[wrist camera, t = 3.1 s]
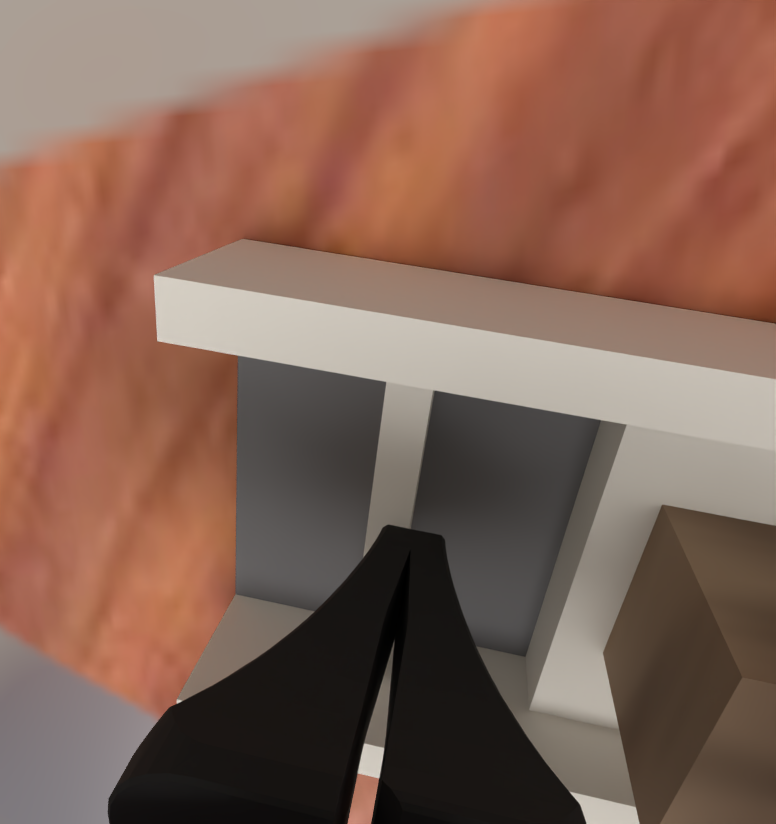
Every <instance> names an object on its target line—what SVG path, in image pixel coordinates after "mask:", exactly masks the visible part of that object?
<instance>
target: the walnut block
mask: <svg viewBox="0 0 776 824" xmlns="http://www.w3.org/2000/svg"><path fill="white" fill-rule="evenodd" d="M603 656H604V661H605V666H606V670H607V675H608V680H609V684H610V689H611V694H612V698H613V703H614V708H615V712H616V717H617V722H618V726H619V731H620V736H621V740H622V745H623V750H624V754H625V759H626V763H627V768H628V773H629V777H630V782H631V787H632V791H633V796H634V801H635V805H636V810H637V815H638V819H639V824H776V526H774V525H769V524H764V523H758V522H753V521H748V520H742V519H737V518H732V517H727V516H721V515H716V514H711V513H705V512H700V511H695V510H690V509H684V508H679V507H674V506H668V505H663V504H662V506H661V509H660V511H659V514H658V516H657V519H656V521H655V524H654V526H653V529H652V531H651V534H650V536H649V539H648V541H647V544H646V546H645V549H644V551H643V554H642V556H641V559H640V561H639V564H638V566H637V569H636V571H635V574H634V576H633V579H632V581H631V584H630V586H629V589H628V591H627V594H626V596H625V599H624V601H623V604H622V606H621V609H620V611H619V614H618V616H617V619H616V621H615V624H614V626H613V629H612V631H611V634H610V636H609V639H608V641H607V644H606V646H605V649H604V651H603Z"/></svg>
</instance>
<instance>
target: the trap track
mask: <svg viewBox="0 0 776 824" xmlns="http://www.w3.org/2000/svg"><path fill="white" fill-rule="evenodd" d="M154 288H155V307H156V325H157V341H160V342H165V343H171V344H176V345H182V346H188V347H193V348H199V349H205V350H210V351H216V352H221V353H227V354H233V355H238V400H237V498H236V594H235V596H234V598H233V600H232V601H231V603H230V605H229V607H228V609H227V610H226V612H225V614H224V616H223V618H222V619H221V621H220V623H219V625H218V626H217V628H216V630H215V632H214V634H213V635H212V637H211V639H210V641H209V643H208V644H207V646H206V648H205V650H204V651H203V653H202V655H201V657H200V659H199V660H198V662H197V664H196V666H195V668H194V669H193V671H192V673H191V675H190V677H189V678H188V680H187V682H186V684H185V685H184V687H183V689H182V691H181V693H180V694H179V696H178V698H177V704H178V703H179V702H181V701H183V700H185V699H187V698H189V697H191V696H193V695H195V694H197V693H199V692H200V691H202V690H204V689H206V688H208V687H210V686H212V685H214V684H216V683H217V682H219V681H221V680H222V679H224V678H226V677H227V676H229V675H230V674H232V673H234V672H235V671H237V670H238V669H240V668H241V667H243V666H245V665H246V664H248V663H249V662H251V661H252V660H254V659H256V658H257V657H259V656H260V655H261V654H263V653H264V652H266V651H267V650H268V649H270V648H271V647H272V646H274V645H275V644H276V643H278V642H279V641H280V640H281V639H283V638H284V637H285V636H287V635H288V634H289V633H290V632H292V631H293V630H294V629H295V628H297V627H298V626H299V625H300V624H301V623H302V622H303V621H305V620H306V619H307V618H308V617H309V616H310V615H311V614H312V613H314V612H315V611H316V610H317V609H318V608H319V607H320V606H321V605H322V604H323V603H324V602H325V601H326V600H327V599H328V598H329V597H330V596H331V595H332V593H333V592H334V591H335V590H336V589H337V588H338V587H339V586H340V585H341V584H342V583H343V582H344V581H345V580H346V578H347V577H348V576H349V575H350V574H351V572H352V571H353V570H354V569H355V567H356V566H357V565H358V564H359V563H360V561H361V560H362V559H363V557H364V556H365V555H366V553H367V552H368V551H369V549H370V548H371V546H372V545H373V543H374V542H375V540H376V539H377V537H378V535H379V534H380V532H381V530H382V528H383V527H384V526H386V525H388V524H389V525H394V526H399V527H404V528H409V529H414V530H419V531H424V532H429V533H434V534H439V535H442V536H443V538H444V539H445V544H446V553H447V559H448V564H449V569H450V573H451V577H452V581H453V584H454V588H455V591H456V594H457V597H458V600H459V603H460V606H461V609H462V612H463V615H464V618H465V620H466V623H467V625H468V628H469V630H470V633H471V635H472V638H473V640H474V642H475V645H476V647H477V649H478V651H479V654H480V656H481V658H482V660H483V662H484V664H485V666H486V668H487V670H488V672H489V674H490V676H491V678H492V679H493V681H494V683H495V685H496V687H497V688H498V690H499V692H500V694H501V696H502V697H503V699H504V701H505V702H506V704H507V705H508V707H509V709H510V710H511V712H512V713H513V715H514V716H515V718H516V720H517V721H518V723H519V724H520V726H521V727H522V729H523V731H524V732H525V734H526V735H527V737H528V738H529V740H530V741H531V742H532V744H533V745H534V747H535V748H536V749H537V751H538V752H539V754H540V755H541V756H542V758H543V759H544V761H545V762H546V763H547V765H548V766H549V767H550V768H551V770H552V771H553V772H554V774H555V775H556V776H557V777H558V778H559V780H560V781H561V782H562V783H563V784H564V786H565V787H566V788H567V789H568V790H569V792H570V793H571V794H572V795H573V797H574V798H575V799H576V800H577V801H578V803H579V804H580V805H581V808H582V811H583V814H584V817H585V820H586V824H639V819H638V815H637V810H636V805H635V801H634V796H633V791H632V787H631V782H630V777H629V773H628V768H627V763H626V759H625V754H624V750H623V745H622V740H621V736H620V731H619V726H618V722H617V717H616V712H615V708H614V703H613V698H612V694H611V689H610V684H609V680H608V675H607V670H606V666H605V661H604V656H603V651H604V649H605V646H606V644H607V641H608V639H609V636H610V634H611V631H612V629H613V626H614V624H615V621H616V619H617V616H618V614H619V611H620V609H621V606H622V604H623V601H624V599H625V596H626V594H627V591H628V589H629V586H630V584H631V581H632V579H633V576H634V574H635V571H636V569H637V566H638V564H639V561H640V559H641V556H642V554H643V551H644V549H645V546H646V544H647V541H648V539H649V536H650V534H651V531H652V529H653V526H654V524H655V521H656V519H657V516H658V514H659V511H660V509H661V506H662V504H663V505H668V506H674V507H679V508H684V509H690V510H695V511H700V512H705V513H711V514H716V515H721V516H727V517H732V518H737V519H742V520H748V521H753V522H758V523H764V524H769V525H774V526H776V324H775V323H769V322H762V321H756V320H750V319H744V318H737V317H731V316H725V315H718V314H712V313H706V312H700V311H693V310H687V309H681V308H675V307H668V306H662V305H656V304H649V303H643V302H637V301H631V300H624V299H618V298H612V297H605V296H599V295H593V294H587V293H580V292H574V291H568V290H561V289H555V288H549V287H543V286H536V285H530V284H524V283H518V282H511V281H505V280H499V279H492V278H486V277H480V276H474V275H467V274H461V273H455V272H448V271H442V270H436V269H430V268H423V267H417V266H411V265H404V264H398V263H392V262H386V261H379V260H373V259H367V258H361V257H354V256H348V255H342V254H335V253H329V252H323V251H317V250H310V249H304V248H298V247H291V246H285V245H279V244H273V243H266V242H260V241H254V240H247V239H240V240H238V241H236V242H233V243H231V244H228V245H226V246H223V247H221V248H219V249H216V250H214V251H211V252H209V253H206V254H204V255H202V256H199V257H197V258H194V259H192V260H189V261H187V262H185V263H182V264H180V265H177V266H175V267H172V268H170V269H168V270H165V271H163V272H160V273H158V274H155V275H154ZM393 650H394V643H393V647H392V650H391V653H390V657H389V660H388V663H387V667H386V670H385V674H384V677H383V680H382V684H381V687H380V690H379V694H378V697H377V700H376V704H375V707H374V710H373V714H372V717H371V721H370V724H369V727H368V731H367V734H366V738H365V742H364V746H363V750H362V754H361V759H360V764H359V769H358V773H359V774H363V775H367V776H371V777H376V778H379V777H380V771H381V766H382V760H383V754H384V746H385V738H386V728H387V717H388V706H389V695H390V683H391V672H392V661H393Z"/></svg>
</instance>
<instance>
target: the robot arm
mask: <svg viewBox="0 0 776 824" xmlns="http://www.w3.org/2000/svg"><path fill="white" fill-rule="evenodd" d="M393 643H394V650H393V661H392V672H391V683H390V695H389V706H388V717H387V728H386V738H385V746H384V754H383V760H382V766H381V771H380V777H379V783H378V788H377V794H376V800H375V805H374V811H373V817H372V822H371V824H586V820H585V817H584V814H583V811H582V808H581V805H580V804H579V803H578V801H577V800H576V799H575V798H574V797H573V795H572V794H571V793H570V792H569V790H568V789H567V788H566V787H565V786H564V784H563V783H562V782H561V781H560V780H559V778H558V777H557V776H556V775H555V774H554V772H553V771H552V770H551V768H550V767H549V766H548V765H547V763H546V762H545V761H544V759H543V758H542V756H541V755H540V754H539V752H538V751H537V749H536V748H535V747H534V745H533V744H532V742H531V741H530V740H529V738H528V737H527V735H526V734H525V732H524V731H523V729H522V727H521V726H520V724H519V723H518V721H517V720H516V718H515V716H514V715H513V713H512V712H511V710H510V709H509V707H508V705H507V704H506V702H505V701H504V699H503V697H502V696H501V694H500V692H499V690H498V688H497V687H496V685H495V683H494V681H493V679H492V678H491V676H490V674H489V672H488V670H487V668H486V666H485V664H484V662H483V660H482V658H481V656H480V654H479V651H478V649H477V647H476V645H475V642H474V640H473V638H472V635H471V633H470V630H469V628H468V625H467V623H466V620H465V618H464V615H463V612H462V609H461V606H460V603H459V600H458V597H457V594H456V591H455V588H454V584H453V581H452V577H451V573H450V569H449V564H448V559H447V553H446V544H445V539H444V538H443V536H442V535H439V534H434V533H429V532H424V531H419V530H414V529H409V528H404V527H399V526H394V525H389V524H388V525H386V526H384V527H383V528H382V530H381V532H380V534H379V535H378V537H377V539H376V540H375V542H374V543H373V545H372V546H371V548H370V549H369V551H368V552H367V553H366V555H365V556H364V557H363V559H362V560H361V561H360V563H359V564H358V565H357V566H356V567H355V569H354V570H353V571H352V572H351V574H350V575H349V576H348V577H347V578H346V580H345V581H344V582H343V583H342V584H341V585H340V586H339V587H338V588H337V589H336V590H335V591H334V592H333V593H332V595H331V596H330V597H329V598H328V599H327V600H326V601H325V602H324V603H323V604H322V605H321V606H320V607H319V608H318V609H317V610H316V611H315V612H314V613H312V614H311V615H310V616H309V617H308V618H307V619H306V620H305V621H303V622H302V623H301V624H300V625H299V626H298V627H297V628H295V629H294V630H293V631H292V632H290V633H289V634H288V635H287V636H285V637H284V638H283V639H281V640H280V641H279V642H278V643H276V644H275V645H274V646H272V647H271V648H270V649H268V650H267V651H266V652H264V653H263V654H261V655H260V656H259V657H257V658H256V659H254V660H252V661H251V662H249V663H248V664H246V665H245V666H243V667H241V668H240V669H238V670H237V671H235V672H234V673H232V674H230V675H229V676H227V677H226V678H224V679H222V680H221V681H219V682H217V683H216V684H214V685H212V686H210V687H208V688H206V689H204V690H202V691H200V692H199V693H197V694H195V695H193V696H191V697H189V698H187V699H185V700H183V701H181V702H179V703H178V704H176V705H173V706H171V707H169V709H168V710H167V711H166V712H165V713H164V714H163V716H162V717H161V718H160V719H159V721H158V722H157V723H156V724H155V726H154V727H153V728H152V730H151V731H150V732H149V734H148V735H147V736H146V738H145V739H144V741H143V742H142V743H141V744H140V746H139V747H138V749H137V750H136V752H135V753H134V755H133V756H132V758H131V760H130V762H129V763H128V766H127V767H126V769H125V771H124V773H123V774H122V776H121V778H120V780H119V781H118V783H117V785H116V787H115V788H114V790H113V792H112V794H111V796H110V797H109V801H108V817H109V823H110V824H347V823H348V818H349V813H350V808H351V803H352V798H353V793H354V789H355V784H356V779H357V774H358V769H359V764H360V759H361V754H362V750H363V746H364V742H365V738H366V734H367V731H368V727H369V724H370V721H371V717H372V714H373V710H374V707H375V704H376V700H377V697H378V694H379V690H380V687H381V684H382V680H383V677H384V674H385V670H386V667H387V663H388V660H389V657H390V653H391V650H392V647H393Z"/></svg>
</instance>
